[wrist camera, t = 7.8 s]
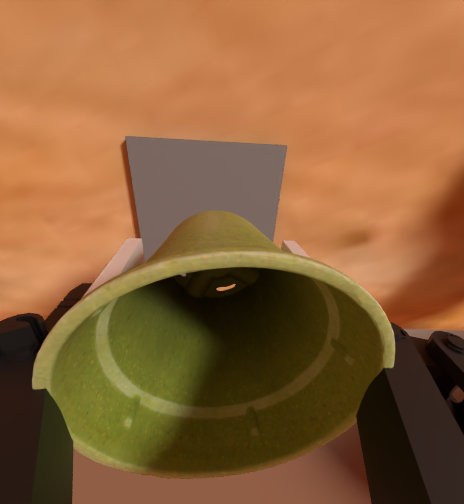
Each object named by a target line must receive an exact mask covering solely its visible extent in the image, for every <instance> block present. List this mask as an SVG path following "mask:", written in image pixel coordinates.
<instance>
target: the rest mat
mask: <svg viewBox="0 0 464 504" xmlns="http://www.w3.org/2000/svg"><path fill="white" fill-rule="evenodd" d="M125 139H126V145H127V152H128V159H129V165H130V172H131V178H132V185H133V192H134V198H135V205H136V211H137V218H138V225H139V231H140V238H142V243H143V251H144V259H145V263H146V262H147V260H148V259H149V258H150V257H151V256H152V255H153V254H154V253H155V252H156V251H157V249H158V248H159V247H160V246H161V245H162V244H163V243H164V242H165V240H166V239H167V238H168V237H169V235H170V234H171V233H172V232H173V230H174V229H175V228H176V227H177V226H178V225H179V224H180V223H182V222H183V221H184V220H186V219H187V218H189V217H191V216H193V215H195V214H198V213H201V212H205V211H213V210H215V211H227V212H231V213H234V214H236V215H239V216H241V217H243V218H244V219H246V220H248V221H249V222H250V223H251V224H253V225H254V226H255V227H256V228H257V229H258V230H259V231H260V232H261V233H263V234H264V235H265V236H266V237H267V238H268V239H269V240H271V241H272V242H273V237H274V230H275V224H276V217H277V210H278V204H279V197H280V190H281V184H282V177H283V170H284V163H285V157H286V150H287V146H286V145H269V144H252V143H234V142H217V141H200V140H183V139H165V138H148V137H131V136H125ZM180 275H182V276H186V273H184V274H180Z"/></svg>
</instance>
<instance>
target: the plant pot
mask: <svg viewBox="0 0 464 504" xmlns="http://www.w3.org/2000/svg"><path fill="white" fill-rule="evenodd" d="M184 273H186V276H182V275H180V274H184ZM232 284H236V285H235V287H233V288H231V289H228V290H224V291H217V289H216V288H218V287H227V286H230V285H232ZM394 360H395V338H394V332H393V329H392V327H391V324H390V322H389V320H388V318H387V316H386V314H385V312H384V311H383V309H382V308H381V306H380V304H379V303H378V302H377V301H376V300H375V299H374V298H373V297H372V296H371V295H370V294H369V293H368V292H367V291H366V290H365V289H364V288H362V287H361V286H360V285H358V284H357V283H356V282H355V281H353V280H352V279H351V278H349V277H348V276H346V275H345V274H343V273H341V272H340V271H338V270H336V269H334V268H332V267H330V266H328V265H326V264H324V263H321V262H319V261H316V260H314V259H311V258H308V257H305V256H301V255H297V254H294V253H290V252H285V251H282V250H281V249H280V248H279V247H278V246H276V245H275V244H274V243H273V242H272V241H271V240H269V239H268V238H267V237H266V236H265V235H264V234H263V233H261V232H260V231H259V230H258V229H257V228H256V227H255V226H254V225H253V224H251V223H250V222H249V221H248V220H246V219H244V218H243V217H241V216H239V215H236V214H234V213H231V212H227V211H215V210H213V211H205V212H201V213H198V214H195V215H193V216H191V217H189V218H187V219H186V220H184V221H183V222H182V223H180V224H179V225H178V226H177V227H176V228H175V229H174V230H173V232H172V233H171V234H170V235H169V237H168V238H167V239H166V240H165V242H164V243H163V244H162V245H161V246H160V247H159V248H158V249H157V251H156V252H155V253H154V254H153V255H152V256H151V257H150V258H149V259H148V260H147V262H146V263H145V264H143V265H140V266H138V267H135V268H133V269H131V270H129V271H126V272H124V273H122V274H120V275H117V276H115V277H113V278H112V279H110V280H108V281H107V282H105V283H103V284H102V285H100V286H99V287H97V288H95V289H94V290H92V291H91V292H89V293H88V294H87V295H85V296H84V297H83V298H82V299H81V300H79V301H78V302H77V303H76V304H75V305H74V306H73V307H72V308H71V309H70V310H68V311H67V312H66V313H65V314H64V315H63V317H62V318H61V319H60V320H59V321H58V322H57V323H56V325H55V326H54V327H53V328H52V330H51V331H50V333H49V334H48V336H47V337H46V339H45V340H44V342H43V344H42V346H41V348H40V350H39V352H38V354H37V357H36V360H35V363H34V367H33V377H32V389H44V388H46V389H47V390H48V392H49V393H50V395H51V396H52V397H53V399H54V400H55V402H56V403H57V405H58V407H59V408H60V410H61V412H62V415H63V417H64V419H65V422H66V425H67V427H68V430H69V433H70V435H71V438H72V440H73V448H74V449H75V450H76V451H78V452H79V453H80V454H82V455H84V456H86V457H88V458H89V459H91V460H94V461H96V462H98V463H101V464H103V465H105V466H109V467H114V468H117V469H119V470H125V471H129V472H131V473H136V474H141V475H152V476H157V477H161V478H180V479H193V478H209V477H223V476H229V475H237V474H244V473H249V472H255V471H258V470H263V469H266V468H270V467H274V466H277V465H280V464H283V463H286V462H288V461H291V460H294V459H296V458H298V457H301V456H303V455H305V454H307V453H309V452H311V451H313V450H315V449H317V448H319V447H321V446H323V445H324V444H326V443H328V442H329V441H331V440H332V439H334V438H336V437H337V436H339V435H340V434H342V433H344V432H345V431H346V430H348V429H349V428H350V427H351V426H352V425H353V424H355V423H356V422H357V419H356V414H357V412H358V409H359V406H360V404H361V401H362V399H363V396H364V394H365V392H366V390H367V388H368V386H369V385H370V383H371V382H372V381H373V379H374V378H375V377H376V376H377V375H378V374H379V373H380V372H381V371H382V369H383V368H393V367H394Z"/></svg>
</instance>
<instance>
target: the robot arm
mask: <svg viewBox="0 0 464 504" xmlns="http://www.w3.org/2000/svg"><path fill="white" fill-rule="evenodd" d="M281 250H282V251H285V252H290V253H294V254H297V255H301V256H305V257H308V258H310V257H309V256H308V255H307V254H306V253H305V252H304V251H303V250H302V248H301V247H300V246H299V245H298V244H297V243H296V242H295V241H283V242H282V247H281ZM143 264H145V259H144V251H143V243H142V238H128V239H127V240H126V241H125V242H124V244H123V245H122V246H121V248H120V249H119V250H118V252H117V253H116V254H115V255H114V257H113V258H112V259H111V261H110V262H109V263H108V264H107V266H106V267H105V268H104V270H103V271H102V272H101V274H100V275H99V276H98V277H97V279H96V280H95V281H94V283H82V284H81V285H79V286H78V287H76V288H74V289H73V290H71V291H70V292H69V293H68V295H67V296H66V297H65V298H64V300H63V301H61V303H60V304H59V305H58V306H57V308H55V309H54V311H53V312H52V313H51V314H50V315H49V316H48V317H47V318H46V320H45V321H44V319H43V317H42V316H40V315H39V314H34V313H26V314H20V315H16V316H13V317H10V318H7V319H4V320H2V321H0V504H72V480H73V479H72V478H73V440H72V438H71V435H70V433H69V430H68V427H67V425H66V422H65V419H64V417H63V415H62V412H61V410H60V408H59V407H58V405H57V403H56V402H55V400H54V399H53V397H52V396H51V395H50V393H49V392H48V390H47V389H46V388H44V389H32V377H33V367H34V363H35V360H36V357H37V354H38V352H39V350H40V348H41V346H42V344H43V342H44V340H45V339H46V337H47V336H48V334H49V333H50V331H51V330H52V328H53V327H54V326H55V325H56V323H57V322H58V321H59V320H60V319H61V318H62V317H63V315H64V314H65V313H66V312H67V311H68V310H70V309H71V308H72V307H73V306H74V305H75V304H76V303H77V302H78V301H79V300H81V299H82V298H83V297H84V296H85V295H87V294H88V293H89V292H91V291H92V290H94V289H95V288H97V287H99V286H100V285H102V284H103V283H105V282H107V281H108V280H110V279H112V278H113V277H115V276H117V275H120V274H122V273H124V272H126V271H129V270H131V269H133V268H135V267H138V266H140V265H143ZM390 324H391V327H392V329H393V332H394V338H395V360H394V367H393V368H383V369H382V371H381V372H380V373H379V374H378V375H377V376H376V377H375V378H374V379H373V381H372V382H371V383H370V385H369V386H368V388H367V390H366V392H365V394H364V396H363V399H362V401H361V404H360V406H359V409H358V412H357V414H356V419H357V424H358V430H359V435H360V440H361V446H362V452H363V458H364V463H365V469H366V475H367V480H368V485H369V491H370V497H371V503H372V504H464V400H463V401H462V402H458V401H457V400H456V399H454V397H453V396H452V394H453V392H454V391H455V390H456V389H457V388H458V387H460V389H461V390H462V391H463V392H464V339H462V338H460V337H459V336H456V335H454V334H451V333H448V332H443V331H435V332H434V333H432V335H431V336H430V338H429V339H428V340H425V339H421V338H416V337H411V336H409V335H408V334H407V332H406V331H404V330H403V329H402V328H401V327H399V326H397V325H395V324H394V323H391V322H390Z"/></svg>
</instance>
